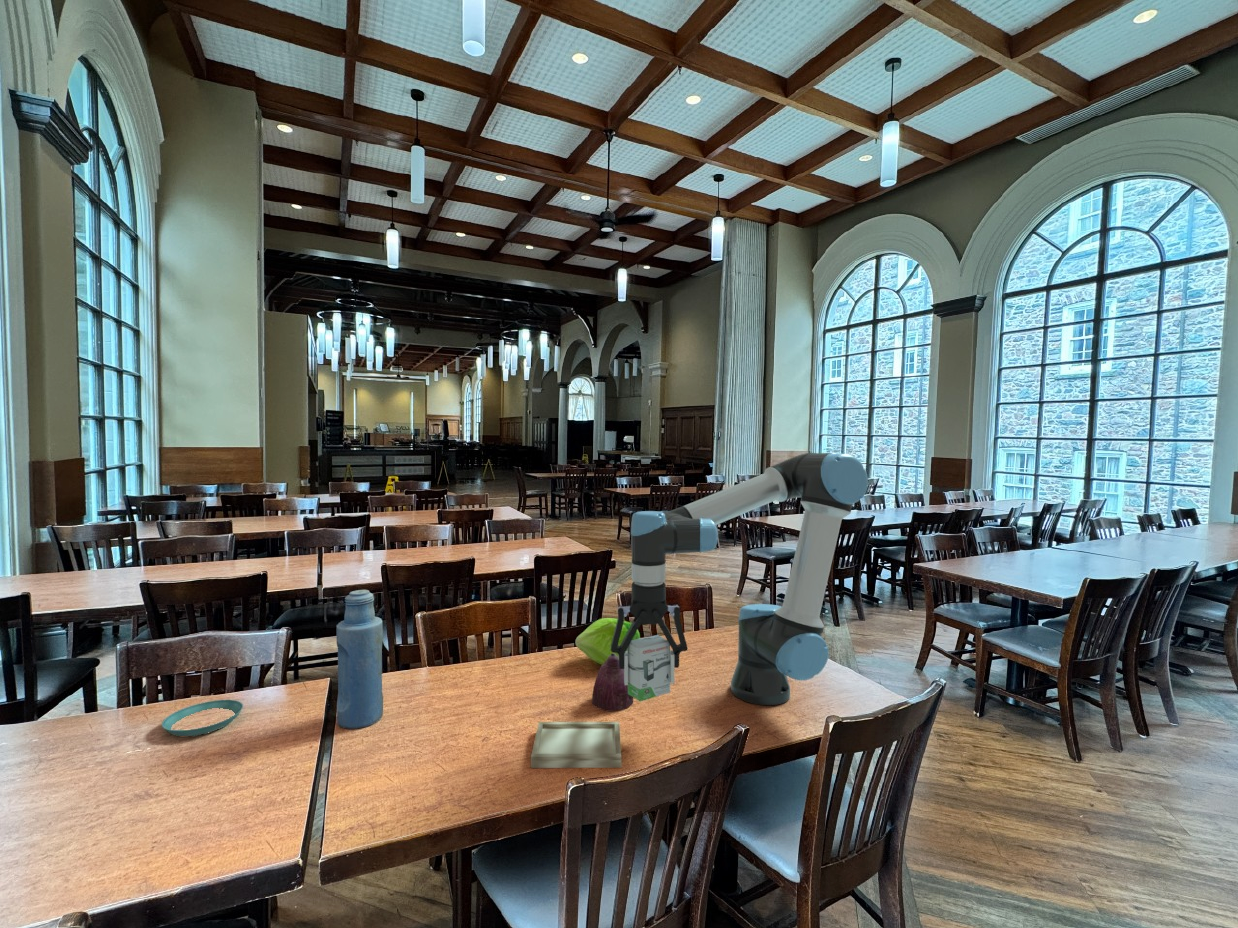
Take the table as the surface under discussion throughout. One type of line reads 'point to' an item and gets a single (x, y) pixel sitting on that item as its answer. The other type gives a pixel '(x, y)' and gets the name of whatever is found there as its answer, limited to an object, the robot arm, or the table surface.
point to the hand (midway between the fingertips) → (649, 681)
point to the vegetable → (611, 687)
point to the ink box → (648, 667)
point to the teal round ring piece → (187, 711)
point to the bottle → (359, 663)
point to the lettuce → (601, 639)
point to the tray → (577, 745)
